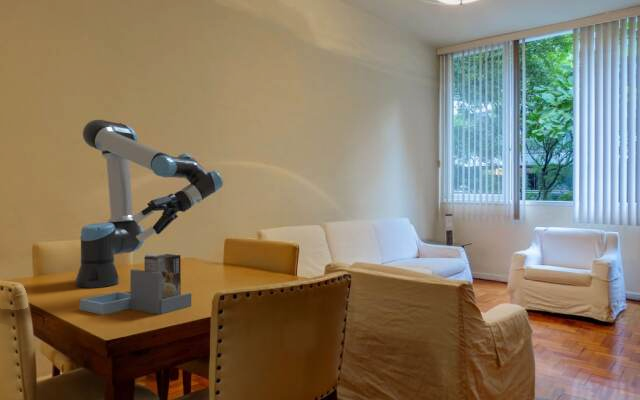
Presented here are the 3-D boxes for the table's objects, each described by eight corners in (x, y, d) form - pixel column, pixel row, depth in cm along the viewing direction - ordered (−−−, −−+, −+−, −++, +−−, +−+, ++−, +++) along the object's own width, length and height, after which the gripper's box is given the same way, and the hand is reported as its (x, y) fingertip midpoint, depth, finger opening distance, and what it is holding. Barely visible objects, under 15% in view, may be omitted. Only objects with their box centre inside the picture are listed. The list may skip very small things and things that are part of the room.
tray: (79, 309, 141) (79, 299, 141) (118, 301, 153) (118, 291, 153) (103, 314, 136) (103, 304, 135) (141, 305, 147) (141, 295, 147)
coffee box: (167, 302, 152) (168, 253, 151) (181, 305, 148) (181, 255, 148) (143, 308, 144) (144, 256, 144) (157, 311, 140) (157, 258, 140)
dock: (129, 308, 143) (129, 269, 143) (161, 300, 154) (161, 264, 154) (159, 314, 136) (160, 273, 136) (191, 305, 147) (191, 268, 147)
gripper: (192, 186, 163) (139, 218, 152) (192, 222, 183) (145, 253, 172) (178, 172, 165) (125, 203, 153) (180, 209, 185) (133, 239, 174)
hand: (136, 230), depth 163 cm, fingers open, 13 cm apart
